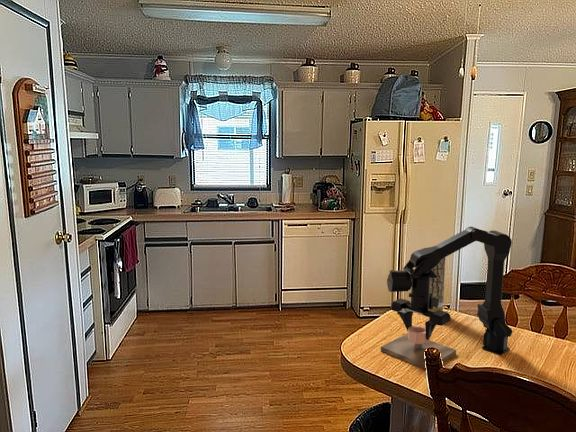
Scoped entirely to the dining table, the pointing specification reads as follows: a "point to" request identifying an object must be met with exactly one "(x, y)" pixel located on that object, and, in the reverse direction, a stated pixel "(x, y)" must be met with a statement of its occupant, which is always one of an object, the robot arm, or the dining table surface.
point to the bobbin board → (415, 350)
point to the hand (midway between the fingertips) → (418, 336)
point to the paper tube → (438, 284)
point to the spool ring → (417, 335)
